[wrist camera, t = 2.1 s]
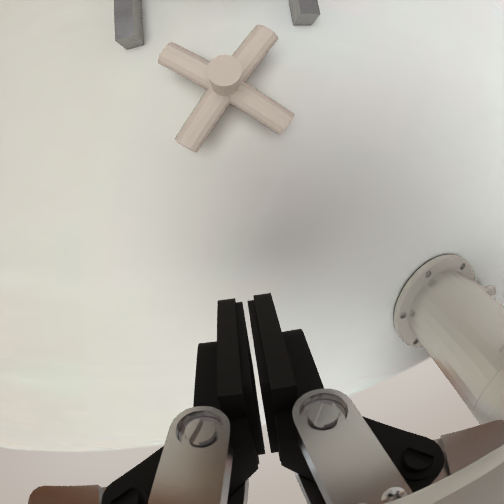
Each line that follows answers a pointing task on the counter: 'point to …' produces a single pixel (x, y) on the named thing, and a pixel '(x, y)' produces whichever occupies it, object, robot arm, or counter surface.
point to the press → (132, 29)
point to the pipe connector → (225, 86)
